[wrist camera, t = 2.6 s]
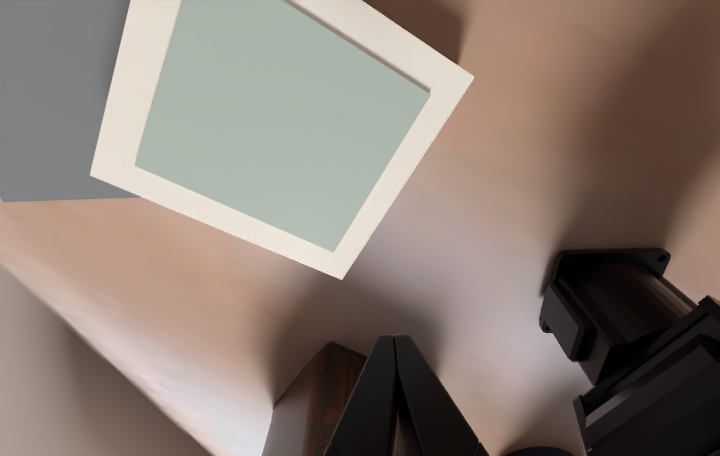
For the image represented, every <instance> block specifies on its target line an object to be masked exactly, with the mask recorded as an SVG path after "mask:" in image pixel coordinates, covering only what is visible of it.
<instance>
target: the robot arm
mask: <svg viewBox="0 0 720 456" xmlns="http://www.w3.org/2000/svg"><path fill="white" fill-rule="evenodd" d="M659 256H660V257H659ZM568 257H569V258H568ZM658 257H659V258H658ZM670 257H671V255H670V253H668V252H667V251H666V250H664V249H663V248H644V249H605V250H567V251H562V252H560V253H559V254H558V256H557V258H556V261H555V265H554V269H553V273H552V277H551V281H550V282H549V283H548V285H547V289H546V293H545V297H544V301H543V305H542V309H541V314H542V316H541V320H540V323H539V326H540V327H541V329H542V331H543V332H545V333H553V334H554V336H555V338H556V339H557V341H558V343H559V344H560V346H561V347H562V349H563V351H564V352H565V354H566V356H567V357H568V359H570V360H571V361H572V362H578V363H579V365H580V366H581V368H582V369H583V371H584V373H585V374H586V376H587V377H588V379H589V381H590V382H591V384H592V385H593V388H591V389H590V390H589V391H588V392H586V393H585V394H584V395H579V396H578V397H577V398H575V399H574V400H573V405H574V409H575V412H576V416H577V420H578V424H579V427H580V431H581V435H582V439H583V442H584V446H585V450H586V454H587V456H720V301H719V300H717V299H715V298H713V297H711V296H709V295H707V296H706V297H705V298H703V299H702V300H701V301H699V302H698V304H699V305H696V304H695V303H694V302H693V301H692V300H690V299H689V298H688V297H687V296H686V295H684V294H683V293H682V292H681V291H680V290H678V289H677V288H676V287H675V286H674V285H672V284H671V283H670V282H669V281H668V280H666V279H665V278H664V277H663V274H664V271H665V269H666V267H667V264H668V262H669V260H670ZM566 258H568V259H567V260H565V261H564V259H566ZM397 411H398V421H399V427H400V433H401V439H402V444H403V450H404V456H489V454H488V453H487V451H486V450H485V448H484V447H483V445H482V444H481V443H480V442H478V441H479V440H478V438H477V436H476V435H475V433H474V432H473V430H472V429H471V427H470V426H469V424H468V423H467V421H466V420H465V418H464V416H463V415H462V413H461V412H460V410H459V409H458V407H457V406H456V404H455V403H454V401H453V400H452V398H451V397H450V395H449V394H448V392H447V391H446V389H445V388H444V386H443V385H442V383H441V382H440V380H439V378H438V377H437V375H436V374H435V372H434V371H433V369H432V368H431V366H430V365H429V363H428V362H427V360H426V359H425V357H424V356H423V354H422V353H421V351H420V350H419V348H418V347H417V345H416V344H415V342H414V340H413V339H412V337H411V336H410V335H409V334H395V335H394V336H393V335H392V334H380V335H378V337H377V339H376V341H375V343H374V345H373V347H372V350H371V352H370V354H369V356H368V358H367V361H366V363H365V365H364V367H363V369H362V372H361V374H360V376H359V378H358V380H357V383H356V385H355V387H354V389H353V391H352V394H351V396H350V398H349V400H348V402H347V405H346V407H345V409H344V411H343V413H342V416H341V418H340V420H339V422H338V424H337V427H336V429H335V431H334V433H333V435H332V438H331V440H330V444H328V446H327V448H326V450H325V453H324V455H323V456H396V441H397Z"/></svg>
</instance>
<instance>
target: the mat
mask: <svg viewBox="0 0 720 456" xmlns="http://www.w3.org/2000/svg"><path fill="white" fill-rule="evenodd" d="M130 1H131V0H0V197H1V199H2V201H3V202H17V201H46V200H74V199H103V198H131V197H141V196H138V195H136V194H133V193H131V192H129V191H126V190H124V189H121V188H119V187H117V186H114V185H112V184H109V183H107V182H105V181H102V180H100V179H97V178H95V177H92V176H90V172H91V167H92V163H93V159H94V154H95V150H96V146H97V142H98V137H99V133H100V129H101V124H102V120H103V116H104V112H105V107H106V103H107V99H108V95H109V90H110V86H111V82H112V77H113V73H114V69H115V65H116V60H117V56H118V52H119V48H120V43H121V39H122V35H123V30H124V26H125V22H126V18H127V13H128V9H129V5H130Z"/></svg>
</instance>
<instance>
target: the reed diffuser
mask: <svg viewBox="0 0 720 456" xmlns="http://www.w3.org/2000/svg"><path fill="white" fill-rule="evenodd" d="M506 456H573V455H572V454H571V453H569V452H567V451H564V450H561V449H559V448H551V447H532V448H526V449H522V450H518V451H515V452H513V453H510V454H508V455H506Z"/></svg>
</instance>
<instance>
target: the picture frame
mask: <svg viewBox="0 0 720 456" xmlns="http://www.w3.org/2000/svg"><path fill="white" fill-rule="evenodd" d="M473 79H474V76H472V75H471V74H469V73H468V72H466V71H465V70H463V69H462V68H461V67H459V66H458V65H456V64H455V63H453V62H452V61H450V60H449V59H447V58H446V57H444V56H443V55H441V54H440V53H439V52H437V51H436V50H434V49H433V48H431V47H430V46H428V45H427V44H425V43H424V42H422V41H421V40H419V39H418V38H416V37H415V36H414V35H412V34H411V33H409V32H408V31H406V30H405V29H403V28H402V27H400V26H399V25H397V24H396V23H394V22H393V21H391V20H390V19H389V18H387V17H386V16H384V15H383V14H381V13H380V12H378V11H377V10H375V9H374V8H372V7H371V6H369V5H368V4H366V3H365V2H364V1H362V0H131V1H130V5H129V9H128V13H127V18H126V22H125V26H124V30H123V35H122V39H121V43H120V48H119V52H118V56H117V60H116V65H115V69H114V73H113V77H112V82H111V86H110V90H109V95H108V99H107V103H106V107H105V112H104V116H103V120H102V124H101V129H100V133H99V137H98V142H97V146H96V150H95V154H94V159H93V163H92V167H91V172H90V176H92V177H95V178H97V179H100V180H102V181H105V182H107V183H109V184H112V185H114V186H117V187H119V188H121V189H124V190H126V191H129V192H131V193H133V194H136V195H138V196H141V197H143V198H145V199H148V200H150V201H153V202H155V203H157V204H160V205H162V206H165V207H167V208H169V209H172V210H174V211H177V212H179V213H182V214H184V215H186V216H189V217H191V218H194V219H196V220H198V221H201V222H203V223H206V224H208V225H210V226H213V227H215V228H218V229H220V230H222V231H225V232H227V233H230V234H232V235H234V236H237V237H239V238H242V239H244V240H247V241H249V242H251V243H254V244H256V245H259V246H261V247H263V248H266V249H268V250H271V251H273V252H275V253H278V254H280V255H283V256H285V257H287V258H290V259H292V260H295V261H297V262H299V263H302V264H304V265H307V266H309V267H311V268H314V269H316V270H319V271H321V272H324V273H326V274H328V275H331V276H333V277H336V278H338V279H340V280H342V279H343V278H344V276H345V275H346V273H347V272H348V270H349V269H350V267H351V265H352V264H353V262H354V261H355V259H356V258H357V256H358V255H359V253H360V252H361V250H362V249H363V247H364V246H365V244H366V243H367V241H368V239H369V238H370V236H371V235H372V233H373V232H374V230H375V229H376V227H377V226H378V224H379V223H380V221H381V220H382V218H383V217H384V215H385V213H386V212H387V210H388V209H389V207H390V206H391V204H392V203H393V201H394V200H395V198H396V197H397V195H398V194H399V192H400V191H401V189H402V187H403V186H404V184H405V183H406V181H407V180H408V178H409V177H410V175H411V174H412V172H413V171H414V169H415V168H416V166H417V165H418V163H419V162H420V160H421V158H422V157H423V155H424V154H425V152H426V151H427V149H428V148H429V146H430V145H431V143H432V142H433V140H434V139H435V137H436V136H437V134H438V132H439V131H440V129H441V128H442V126H443V125H444V123H445V122H446V120H447V119H448V117H449V116H450V114H451V113H452V111H453V110H454V108H455V106H456V105H457V103H458V102H459V100H460V99H461V97H462V96H463V94H464V93H465V91H466V90H467V88H468V87H469V85H470V84H471V82H472V80H473Z"/></svg>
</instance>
